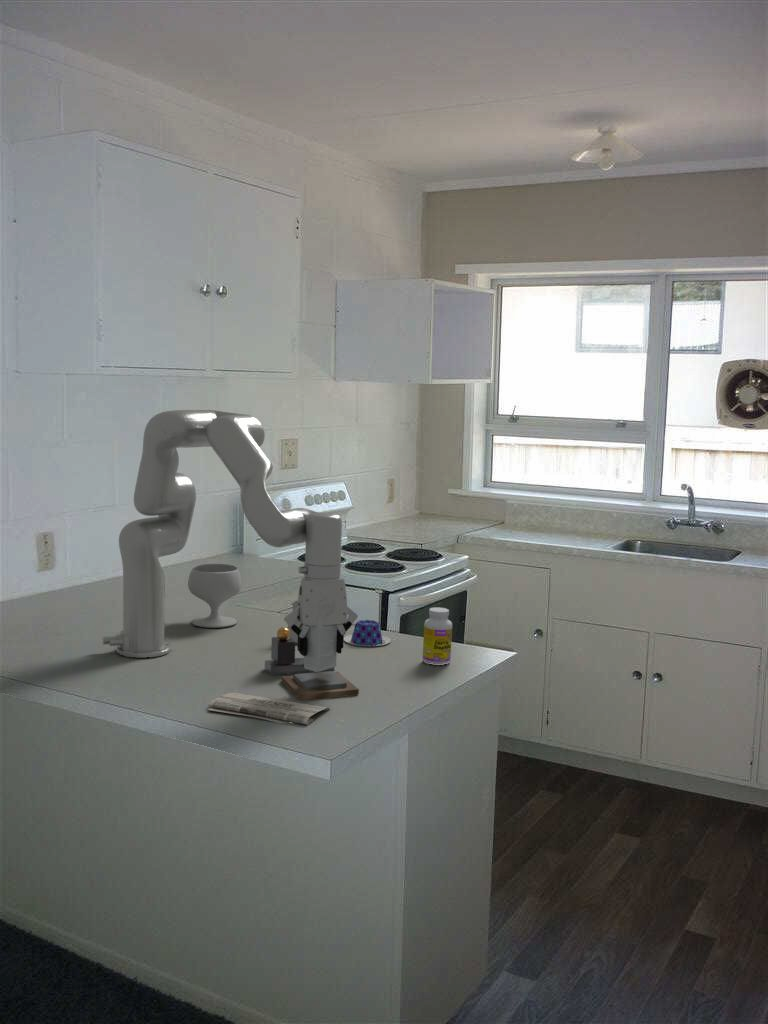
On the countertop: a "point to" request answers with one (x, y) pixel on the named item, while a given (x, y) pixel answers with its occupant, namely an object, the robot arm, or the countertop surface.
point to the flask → (292, 633)
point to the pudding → (366, 634)
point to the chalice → (214, 591)
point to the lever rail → (288, 667)
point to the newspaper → (265, 708)
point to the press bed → (319, 685)
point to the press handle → (283, 647)
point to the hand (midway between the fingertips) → (320, 652)
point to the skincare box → (321, 647)
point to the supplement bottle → (437, 637)
